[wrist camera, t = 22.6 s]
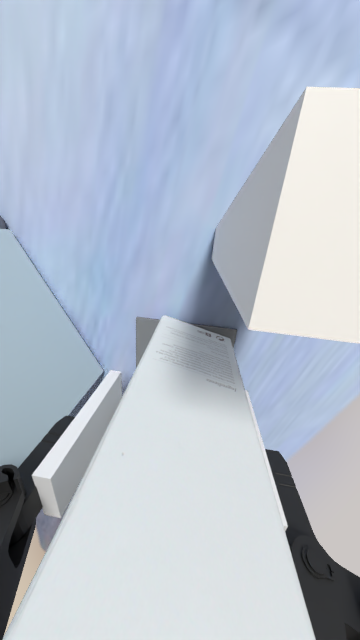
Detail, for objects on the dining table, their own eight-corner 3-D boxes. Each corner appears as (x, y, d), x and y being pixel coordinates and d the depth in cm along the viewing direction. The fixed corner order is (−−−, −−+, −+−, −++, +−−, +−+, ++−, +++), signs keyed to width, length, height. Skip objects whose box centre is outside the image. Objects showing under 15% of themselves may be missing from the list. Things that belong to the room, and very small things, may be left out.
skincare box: (162, 312, 15) (-324, 1097, 1) (235, 337, 15) (589, 1381, 1) (138, 390, 18) (-71, 850, 4) (198, 411, 18) (180, 930, 4)
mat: (136, 393, 19) (136, 395, 18) (137, 316, 16) (136, 317, 15) (219, 406, 18) (220, 408, 18) (236, 329, 15) (237, 330, 15)
